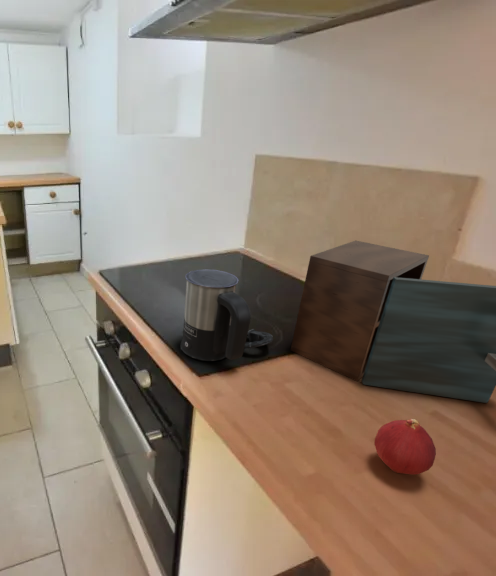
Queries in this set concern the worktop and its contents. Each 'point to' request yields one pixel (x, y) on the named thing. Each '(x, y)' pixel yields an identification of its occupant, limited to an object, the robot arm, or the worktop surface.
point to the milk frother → (217, 318)
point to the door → (436, 340)
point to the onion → (405, 447)
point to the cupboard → (348, 302)
